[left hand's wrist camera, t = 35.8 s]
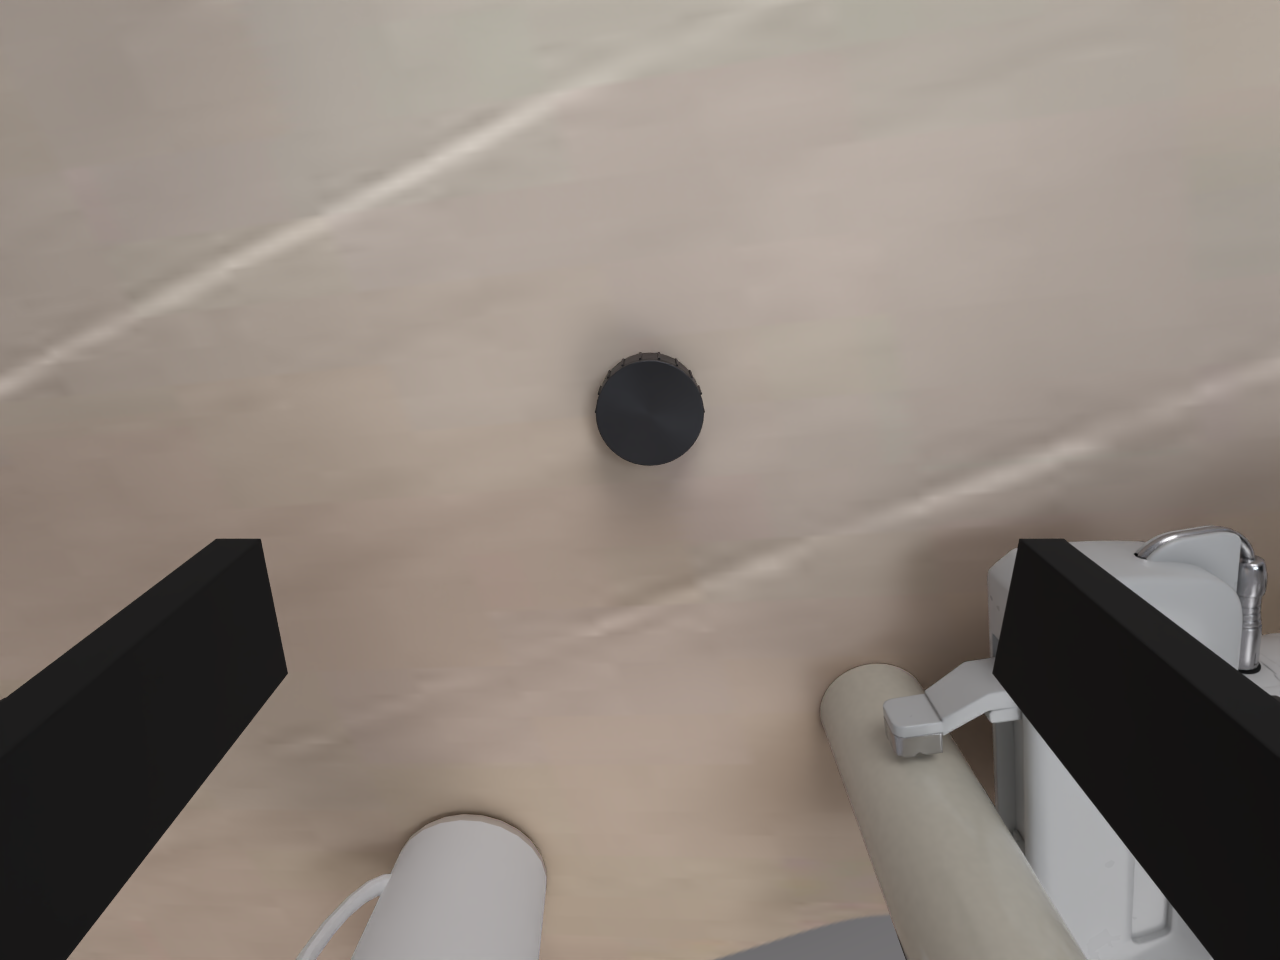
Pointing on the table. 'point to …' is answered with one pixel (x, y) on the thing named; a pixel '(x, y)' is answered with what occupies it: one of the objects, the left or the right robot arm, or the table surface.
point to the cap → (649, 409)
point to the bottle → (936, 837)
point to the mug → (451, 897)
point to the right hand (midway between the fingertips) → (894, 804)
